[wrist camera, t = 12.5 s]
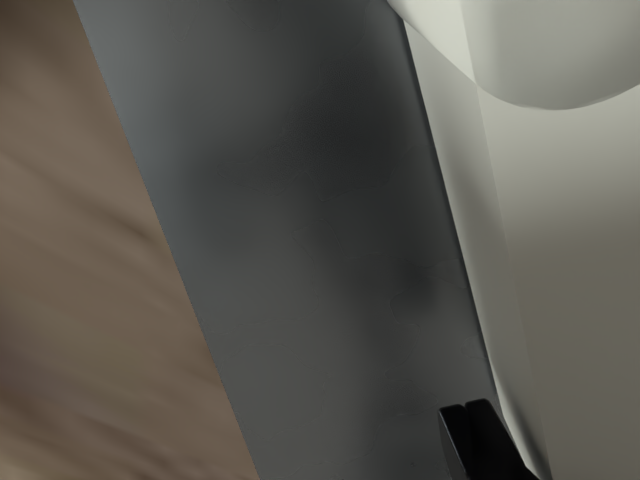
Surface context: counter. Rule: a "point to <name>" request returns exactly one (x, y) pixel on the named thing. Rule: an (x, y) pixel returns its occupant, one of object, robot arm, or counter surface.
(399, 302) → the levelling base
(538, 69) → the off-white long bar
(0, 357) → the counter surface
